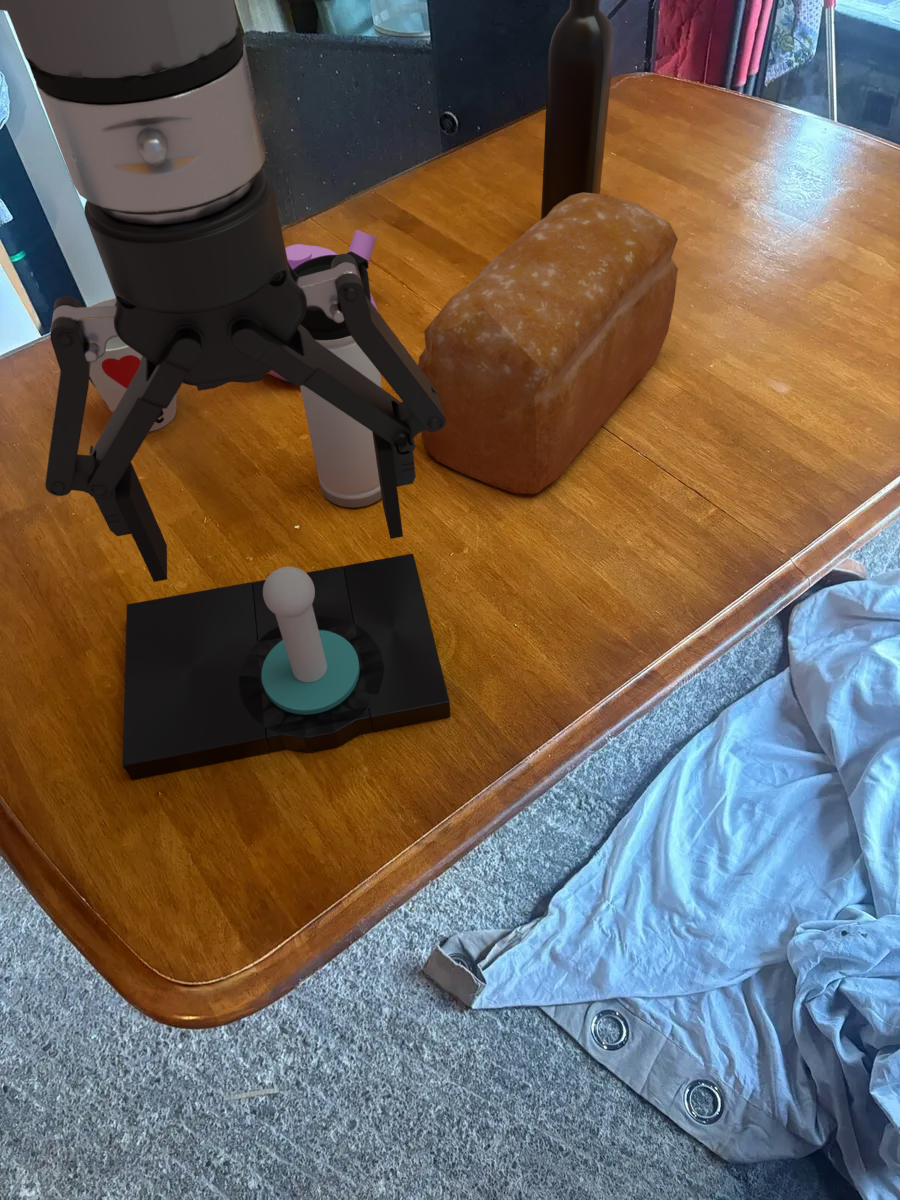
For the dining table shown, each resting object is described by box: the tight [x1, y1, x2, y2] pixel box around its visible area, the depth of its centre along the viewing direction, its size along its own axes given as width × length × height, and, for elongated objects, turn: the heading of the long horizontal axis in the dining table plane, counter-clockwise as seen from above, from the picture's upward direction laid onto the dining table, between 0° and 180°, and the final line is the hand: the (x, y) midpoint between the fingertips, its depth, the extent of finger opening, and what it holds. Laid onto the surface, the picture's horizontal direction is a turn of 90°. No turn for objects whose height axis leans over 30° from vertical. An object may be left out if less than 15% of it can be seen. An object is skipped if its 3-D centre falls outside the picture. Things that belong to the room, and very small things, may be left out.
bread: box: [417, 193, 679, 495], centre depth 78 cm, size 14×26×16 cm, turn 147°
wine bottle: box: [540, 0, 615, 220], centre depth 90 cm, size 6×6×30 cm
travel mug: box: [293, 251, 383, 509], centre depth 70 cm, size 6×7×20 cm
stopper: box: [262, 566, 360, 715], centre depth 59 cm, size 7×7×13 cm
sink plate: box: [121, 553, 451, 781], centre depth 64 cm, size 22×15×2 cm, turn 102°
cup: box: [87, 297, 178, 433], centre depth 80 cm, size 8×8×10 cm
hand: (278, 542), depth 52 cm, fingers open, 13 cm apart
